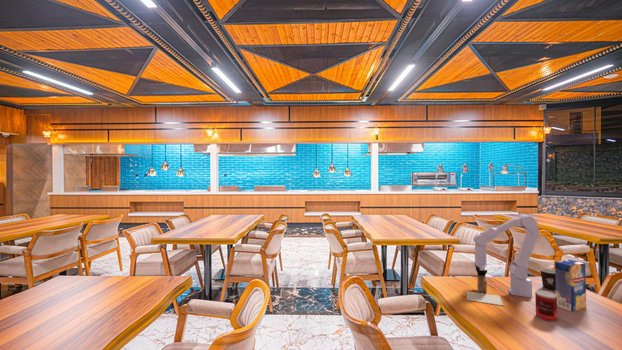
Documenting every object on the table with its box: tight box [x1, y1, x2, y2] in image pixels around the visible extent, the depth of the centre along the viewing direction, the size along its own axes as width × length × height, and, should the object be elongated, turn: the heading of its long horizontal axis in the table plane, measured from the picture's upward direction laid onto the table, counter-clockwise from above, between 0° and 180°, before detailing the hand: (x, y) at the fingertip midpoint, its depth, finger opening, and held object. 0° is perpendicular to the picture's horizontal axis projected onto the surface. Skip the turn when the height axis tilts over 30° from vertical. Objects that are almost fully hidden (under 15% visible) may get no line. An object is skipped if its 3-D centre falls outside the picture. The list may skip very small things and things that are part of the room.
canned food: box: [534, 289, 558, 322], centre depth 130 cm, size 8×8×11 cm
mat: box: [465, 290, 504, 307], centre depth 151 cm, size 16×12×1 cm
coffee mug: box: [539, 268, 556, 292], centre depth 161 cm, size 12×9×10 cm
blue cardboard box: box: [554, 258, 587, 312], centre depth 140 cm, size 7×11×22 cm, turn 109°
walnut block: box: [477, 274, 488, 294], centre depth 157 cm, size 4×4×9 cm
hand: (480, 279), depth 163 cm, fingers open, 7 cm apart
